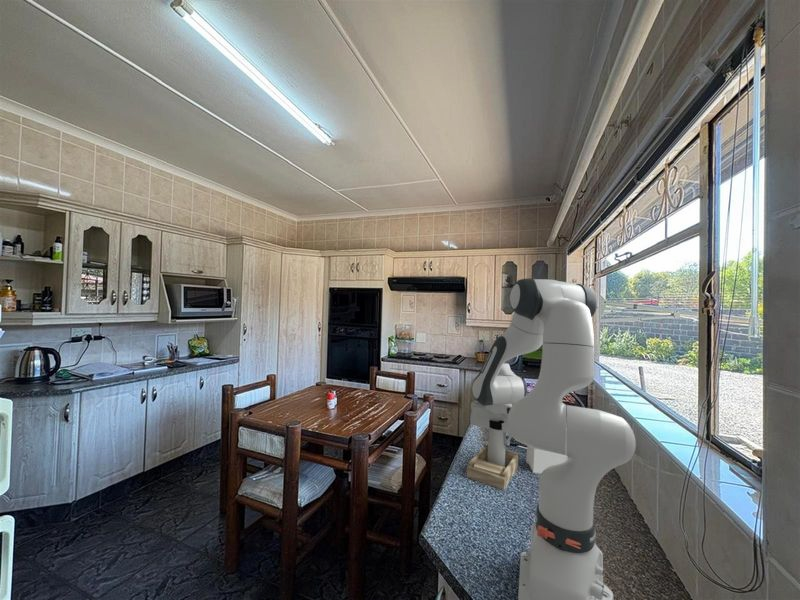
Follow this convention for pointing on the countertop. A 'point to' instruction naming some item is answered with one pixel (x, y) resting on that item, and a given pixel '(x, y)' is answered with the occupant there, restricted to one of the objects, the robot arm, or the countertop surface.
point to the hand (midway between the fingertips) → (496, 442)
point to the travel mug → (496, 443)
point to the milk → (543, 459)
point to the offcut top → (489, 468)
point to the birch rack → (488, 477)
